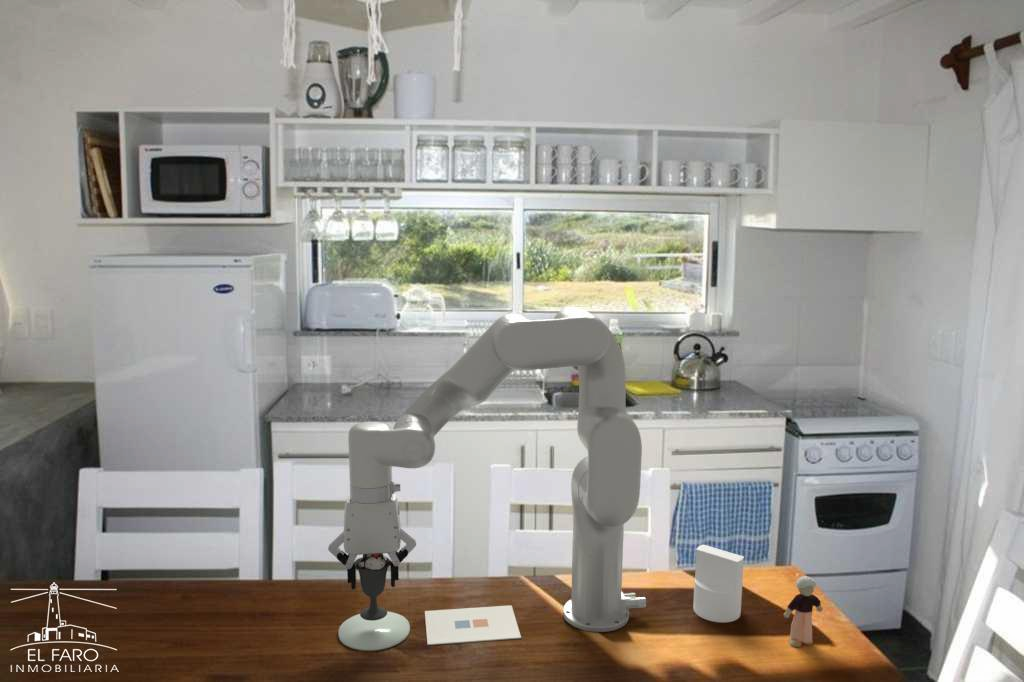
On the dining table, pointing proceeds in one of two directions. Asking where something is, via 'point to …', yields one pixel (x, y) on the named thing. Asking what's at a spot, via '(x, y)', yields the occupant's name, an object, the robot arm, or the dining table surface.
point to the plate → (374, 632)
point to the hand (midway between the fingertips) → (373, 584)
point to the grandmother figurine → (802, 612)
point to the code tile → (471, 625)
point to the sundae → (373, 582)
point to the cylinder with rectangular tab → (718, 584)
